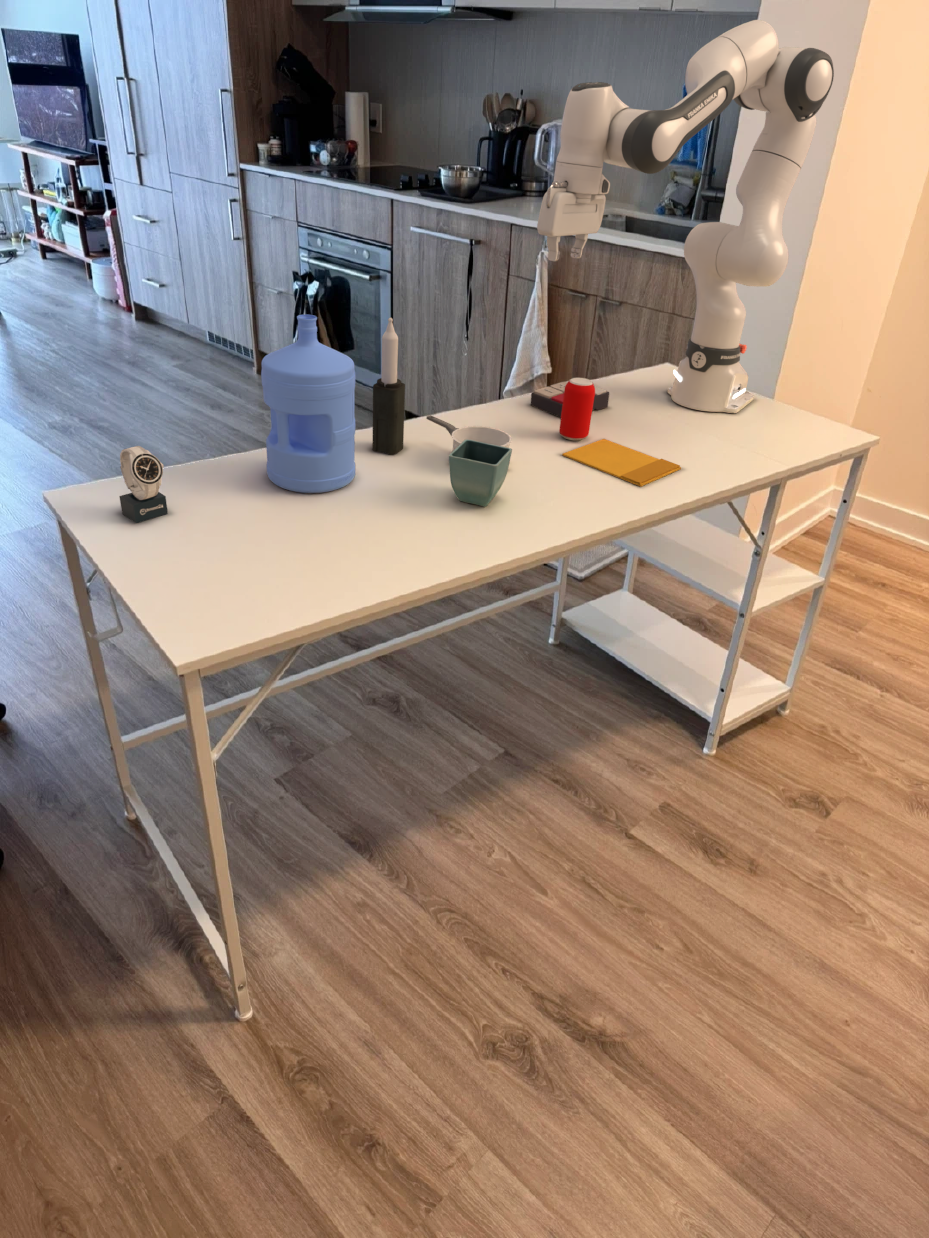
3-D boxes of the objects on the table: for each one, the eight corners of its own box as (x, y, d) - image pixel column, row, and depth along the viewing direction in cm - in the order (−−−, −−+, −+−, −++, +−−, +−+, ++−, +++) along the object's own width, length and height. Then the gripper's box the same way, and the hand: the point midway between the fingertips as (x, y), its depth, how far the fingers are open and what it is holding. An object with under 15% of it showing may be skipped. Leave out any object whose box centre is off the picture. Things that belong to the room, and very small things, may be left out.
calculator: (530, 389, 194) (574, 376, 203) (529, 407, 197) (573, 393, 205) (566, 403, 188) (610, 388, 196) (564, 422, 190) (608, 407, 199)
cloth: (603, 440, 181) (604, 437, 180) (680, 469, 170) (681, 466, 170) (561, 455, 172) (562, 452, 172) (640, 486, 161) (641, 483, 161)
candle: (370, 450, 167) (371, 318, 154) (382, 442, 171) (384, 312, 158) (393, 455, 166) (397, 322, 152) (405, 447, 170) (409, 317, 156)
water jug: (310, 453, 164) (305, 300, 149) (373, 476, 157) (375, 319, 142) (248, 477, 153) (236, 315, 138) (313, 503, 146) (308, 335, 131)
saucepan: (447, 436, 177) (448, 409, 174) (521, 466, 166) (524, 438, 163) (406, 449, 169) (407, 421, 166) (481, 481, 158) (484, 452, 155)
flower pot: (492, 514, 147) (497, 465, 142) (444, 503, 149) (447, 455, 144) (508, 495, 154) (513, 448, 149) (462, 485, 156) (465, 438, 151)
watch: (142, 527, 134) (132, 461, 128) (116, 510, 139) (106, 445, 133) (174, 517, 138) (166, 453, 132) (148, 501, 142) (139, 437, 136)
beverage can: (561, 430, 184) (569, 374, 178) (590, 435, 183) (598, 379, 176) (555, 439, 179) (563, 382, 173) (585, 444, 178) (593, 387, 171)
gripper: (565, 183, 154) (553, 265, 161) (614, 184, 169) (601, 259, 176) (535, 178, 157) (524, 259, 164) (586, 179, 172) (574, 253, 179)
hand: (564, 259), depth 170 cm, fingers open, 8 cm apart
